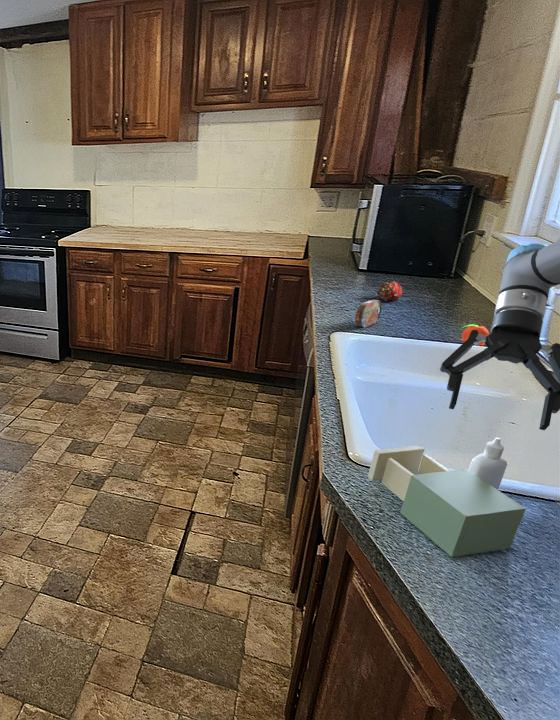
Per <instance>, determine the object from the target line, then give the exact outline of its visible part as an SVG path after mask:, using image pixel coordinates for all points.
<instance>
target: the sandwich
mask: <svg viewBox="0 0 560 720" xmlns="http://www.w3.org/2000/svg"><path fill="white" fill-rule="evenodd" d="M381 312H382V302H381V300H378V299H369V300H367V301H365V302H362V303H360V304H359V305H358V306H357V309H356V311H355V320H354V325H355V326H356V327H360V328H364V329H365V328H368V327H369V326H372V325H374V324H376V323H377V322H378V320H379V318H380V317H381V316H380V315H381Z"/></svg>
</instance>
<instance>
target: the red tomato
mask: <svg viewBox="0 0 560 720" xmlns="http://www.w3.org/2000/svg"><path fill="white" fill-rule="evenodd" d="M463 328H465V329H464V330H463V331H462V334H461V339H462V342H463V343H464V342H465V341H466V340H467V339H468V337H469V335H470V333H471V331H472V330H477V331H478V333H479V334H483V335H489V334H490V331H489V330H488V329H487V328H486V327H485V326H483V325H481V324H468V325H463V326H462V327H461V328H460V329H459V331H460V330H462V329H463ZM477 345H482V346H485V345H486V344H485V342H480V343H479V344H477Z"/></svg>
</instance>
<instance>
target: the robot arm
mask: <svg viewBox="0 0 560 720" xmlns="http://www.w3.org/2000/svg"><path fill="white" fill-rule="evenodd" d="M502 270H503V273H502V277H501V282H500V287H499V290H498V291H499V292H498V296H497V300H496V304H495V308H494V312H493V317H492V320H491V325H490V329H489V335H483V334H479V333H478V331H477V330H472V331H471V333H470V335H469V337H468V339H467V340H466V341H465V342H464V341H463V342H462V344H461V345H460V346H459V347H457V348H456V350H454V351H453V352H452V353H451V354H450V355H448V357H447V358H445V360H444V361H442V362H441V365H440V368H439V371H440V372H441V373H445V374H447V375H448V381H447V385H446V390H447V391H449V392H452V393H451V396H450V397H451V398H450V402H449V406H448V409H449V410H454V409H455V408H456V405H457V403H458V399H459V394H460V390H461V386H462V382H463V378H464V373H466V372H467V371H470V370H471V369H473V368H475V367H477V366H478V365H480V364H482V363H483V362H486V361H489V360H492V358H495V359H497V361H499V362H509V363H512V364H516V365H517V364H520V363H521V364H522V365H523V366H525V368H526V369H528V370H529V371H530V372H531V373H532V374H533V375H534V377H535V378H536V379H537V381H538V382H539V383H540V384H541V385H542V387H543V388H544V389H545V391H546V392H548V393H547V394H546V395H545V396H544V401H543V406H542V411H541V416H540V423H539V428H538V430H541V431H546V430H547V429H548V428H549V426H550V424H551V419H552V415H553V414H557V413H559V411H560V343H559V342H555V343H553V344H542V343H541V340H540V339H541V333H542V328H543V324H544V318H545V314H546V308H547V302H548V298H549V293H550V290H551V288H553V287H556V286H558V285H560V239H559V240H555V242H552V243H550V244H548V245H546V244H544V243H529V244H526V245H524V244H522V245H518V246H517V247H515V248H514V249H512V250H511V251H510V252H509V253H508V256H507V259H506V262H505V264H504V267H503V269H502ZM480 342H485V344H484V345H485V346H486V348H484V349H483V350H482V351H480V352H478V353H476V354H475V355H473V356H471V357H469V358H467V359H465V360H464V361H461V362H460V363H458V364H457V365H455V364H456V363H457V362H458V361H459V360H460V359H462V358H463V357H464V356H465V355H466V354H468V352H469V351H470V350H471V349H472V348H473V347H472V346H473V344H474V345H477V344H479V343H480ZM539 352H541V353H543V355H544V357H545V358H547V359H548V363H549V365H550V367H551V370H552V371H553V374H554V375H555V377H554V375H553V374H552V373H551V372H550V371H549V370H548V368H547V367H546V366H545V365H544V363H543V362H542V361H541V360H540V357H539V356H538V353H539ZM454 365H455V366H454Z"/></svg>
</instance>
